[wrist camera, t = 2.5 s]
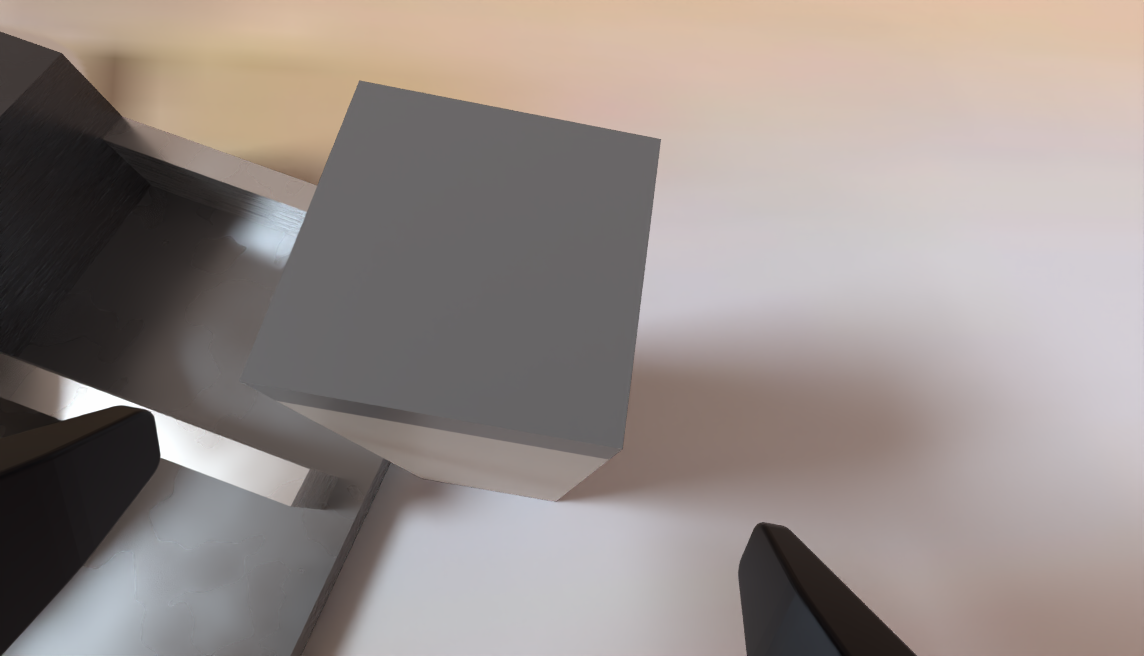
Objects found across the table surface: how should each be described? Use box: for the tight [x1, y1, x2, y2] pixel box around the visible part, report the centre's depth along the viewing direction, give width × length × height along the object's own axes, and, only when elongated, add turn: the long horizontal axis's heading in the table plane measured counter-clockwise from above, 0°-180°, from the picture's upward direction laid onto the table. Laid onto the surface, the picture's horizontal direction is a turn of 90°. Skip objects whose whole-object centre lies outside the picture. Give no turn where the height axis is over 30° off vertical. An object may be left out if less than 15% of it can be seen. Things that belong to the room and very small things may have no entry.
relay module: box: [239, 81, 661, 502], centre depth 13 cm, size 4×5×12 cm
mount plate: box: [0, 32, 390, 656], centre depth 15 cm, size 14×16×6 cm
